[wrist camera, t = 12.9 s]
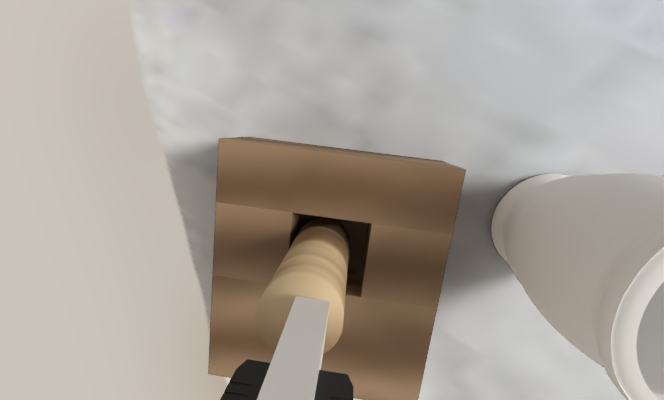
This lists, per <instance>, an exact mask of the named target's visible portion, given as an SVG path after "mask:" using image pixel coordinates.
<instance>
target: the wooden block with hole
mask: <svg viewBox="0 0 664 400" xmlns="http://www.w3.org/2000/svg"><path fill="white" fill-rule="evenodd" d="M465 172H466V170H465V169H462V168H460V167H457V166H454V165H451V164H449V163H446V162H443V161H437V160H429V159H421V158H413V157H405V156H397V155H389V154H381V153H373V152H365V151H357V150H349V149H341V148H333V147H325V146H317V145H309V144H301V143H294V142H286V141H278V140H270V139H262V138H254V137H237V138H219V143H218V165H217V188H216V210H215V233H214V255H213V277H212V300H211V322H210V345H209V346H210V347H209V367H208V369H209V370H208V374H211V375H217V376H223V377H229V378H232V376H233V374H234V372H235V370H236V369H237V368H238V367H239V366H240V365H241V364H242V363H244V362H245V361H246V360H247V359H249V360H256V361H262V362H268V363H271V361H272V358H273V355H274V353H275V351H274V350H273V349H272V348H271V347H269V346H268V345H267V343H266V342H265V341H264V340H263V338H262V337H261V335H260V333H259V331H258V328H257V325H256V308H257V305H258V302H259V300H260V298H261V296H262V295H263V293H264V291H265V290H266V288H267V286H268V285H269V283H270V281H271V279H272V278H273V276H274V274H275V273H276V271H277V269H278V267H279V266H280V264H281V262H282V261H283V259H284V257H285V255H286V254H287V252H288V250H289V249H290V247H291V244H292V242H293V240H294V239H295V237H296V236H297V235H298V233H299V232H300V230H301V228H302V227H303V226H304V225H305V224H306V223H307V222H309V221H310V220H312V219H315V218H318V217H328V218H334V219H336V220H338V221H339V222H340V223H341V224H342V225H343V227H344V228H345V230H346V232H347V234H348V236H349V242H350V244H349V263H348V270H347V282H346V295H345V307H344V320H343V329H342V333H341V336H340V338H339V340H338V341H337V343H336V344H335V345H334V346H333V347H332V348H331V349H330V350H329V351H328V352H326V353H325V354H323V358H322V365H321V370H324V371H330V372H337V373H343V374H348V376H349V378H350V380H351V382H352V385H353V398H356V399H362V400H418V398H419V393H420V388H421V383H422V378H423V374H424V369H425V364H426V359H427V354H428V349H429V345H430V340H431V335H432V330H433V325H434V321H435V316H436V311H437V306H438V301H439V297H440V292H441V287H442V282H443V277H444V273H445V268H446V263H447V258H448V253H449V249H450V244H451V239H452V234H453V229H454V224H455V220H456V215H457V210H458V205H459V200H460V196H461V191H462V186H463V181H464V176H465Z"/></svg>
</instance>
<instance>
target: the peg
mask: <svg viewBox="0 0 664 400" xmlns="http://www.w3.org/2000/svg"><path fill="white" fill-rule="evenodd" d="M349 244H350V242H349V236H348V234H347V232H346V230H345V228H344V227H343V225H342V224H341V223H340V222H339V221H338V220H336V219H334V218H328V217H318V218H315V219H312V220H310V221H309V222H307V223H306V224H305V225H304V226H303V227H302V228H301V230H300V232H299V233H298V235H297V236H296V237H295V239H294V240H293V242H292V244H291V247H290V249H289V250H288V252H287V254H286V255H285V257H284V259H283V261H282V262H281V264H280V266H279V267H278V269H277V271H276V273H275V274H274V276H273V278H272V279H271V281H270V283H269V285H268V286H267V288H266V290H265V291H264V293H263V295H262V296H261V298H260V300H259V302H258V305H257V308H256V325H257V328H258V331H259V333H260V335H261V337H262V338H263V340H264V341H265V342H266V343H267V345H268V346H269V347H271V348H272V349H273V350H274V351H275V350H276V347H277V345H278V342H279V340H280V337H281V334H282V332H283V329H284V326H285V324H286V321H287V318H288V316H289V313H290V310H291V308H292V305H293V302H294V300H295V297H296V296H298V297H305V298H312V299H318V300H325V301H330V305H329V312H328V320H327V328H326V336H325V343H324V351H323V354H325V353H326V352H328V351H329V350H330V349H331V348H332V347H333V346H334V345H335V344H336V343H337V341H338V340H339V338H340V336H341V333H342V329H343V320H344V307H345V295H346V282H347V270H348V263H349Z"/></svg>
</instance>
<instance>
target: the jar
mask: <svg viewBox="0 0 664 400" xmlns="http://www.w3.org/2000/svg"><path fill="white" fill-rule="evenodd" d="M491 233H492V239H493V242H494V245H495V247H496V249H497V251H498V253H499V254H500V255H501V256H502V258H503V259H504V260H505V261H507V262H508V263H509V264H510V267H511V269H512V271H513V272H514V274H515V276H516V277H517V279H518V280H519V282H520V283H521V285H522V286H523V288H524V290H525V291H526V293H527V295H528V296H529V298H530V299H531V301H532V302H533V304H534V305H535V306H536V308H537V309H538V310H539V312H540V313H541V314H542V315H543V316H544V317H545V319H546V320H547V321H548V322H549V323H550V324H551V325H552V326H553V327H554V328H555V329H556V330H557V331H558V332H559V333H560V334H561V335H562V336H563V337H565V338H566V339H567V340H568V341H569V342H570V343H572V344H573V345H574V346H575V347H576V348H578V349H579V350H580V351H581V352H583V353H584V354H585V355H587V356H588V357H589V358H591V359H592V360H594V361H595V362H597V363H598V364H599V365H601V366H602V367H604V368H605V370H606V372H607V374H608V376H609V378H610V379H611V381H612V382H613V384H614V385H615V386H616V388H617V389H618V390H619V391H620V393H621V394H622V395H623V396H624V397H625V398H626V399H627V400H664V176H663V175H653V174H637V173H615V174H587V175H575V176H568V175H564V174H544V175H538V176H535V177H532V178H529V179H527V180H525V181H523V182H521V183H519V184H518V185H516V186H515V187H513V188H512V189H511V190H510V191H509V192H508V193H507V194H506V195H505V196H504V197H503V198H502V200H501V201H500V202H499V204H498V206H497V208H496V210H495V212H494V215H493V219H492V225H491Z"/></svg>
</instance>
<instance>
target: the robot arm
mask: <svg viewBox="0 0 664 400" xmlns="http://www.w3.org/2000/svg"><path fill="white" fill-rule="evenodd" d="M329 305H330V301H325V300H318V299H312V298H305V297H298V296H296V297H295V300H294V302H293V305H292V308H291V310H290V313H289V316H288V318H287V321H286V324H285V326H284V329H283V332H282V334H281V337H280V340H279V342H278V345H277V347H276V350H275V353H274V355H273V358H272V361H271V363H268V362H262V361H256V360H249V359H247V360H246V361H245V362H244V363H242V364H241V365H240V366H239V367H238V368H237V369H236V370H235V372H234V374H233V376H232V378H231V380H230V383H229V384H228V386H227V388H226V390H225V392H224V394H223V396H222V397H221V400H353V385H352V382H351V380H350V378H349V376H348V374H343V373H337V372H330V371H324V370H321V365H322V358H323V351H324V343H325V336H326V328H327V320H328V312H329Z"/></svg>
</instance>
